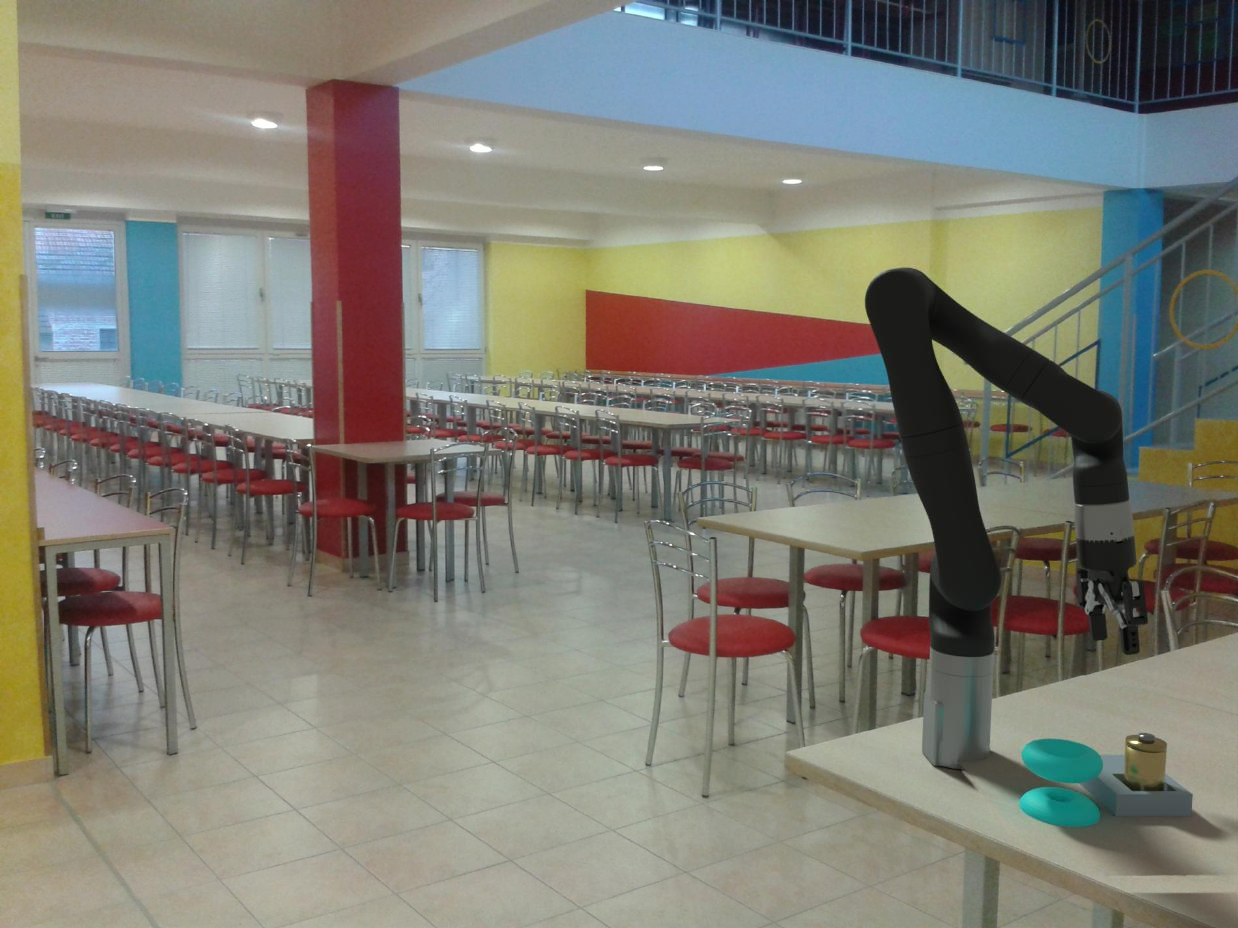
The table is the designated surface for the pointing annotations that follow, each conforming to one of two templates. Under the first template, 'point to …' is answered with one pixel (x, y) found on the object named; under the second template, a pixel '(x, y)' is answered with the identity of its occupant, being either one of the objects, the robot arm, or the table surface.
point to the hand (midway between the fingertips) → (1114, 646)
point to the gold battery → (1144, 762)
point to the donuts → (1062, 766)
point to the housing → (1137, 794)
